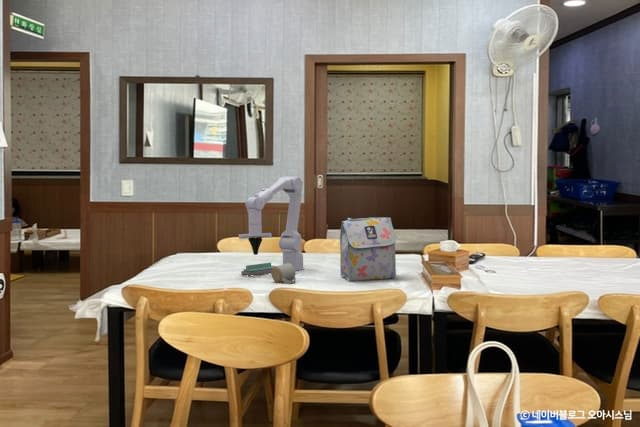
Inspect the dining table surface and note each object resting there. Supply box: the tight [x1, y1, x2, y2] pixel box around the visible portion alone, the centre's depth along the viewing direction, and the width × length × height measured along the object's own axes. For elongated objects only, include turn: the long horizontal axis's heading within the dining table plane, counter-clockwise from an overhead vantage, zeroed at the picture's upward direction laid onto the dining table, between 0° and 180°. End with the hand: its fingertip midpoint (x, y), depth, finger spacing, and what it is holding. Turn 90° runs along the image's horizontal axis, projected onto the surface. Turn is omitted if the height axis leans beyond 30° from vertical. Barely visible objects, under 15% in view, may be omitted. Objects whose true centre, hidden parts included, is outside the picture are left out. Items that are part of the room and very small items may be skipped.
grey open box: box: [240, 269, 272, 277], centre depth 323 cm, size 17×6×2 cm, turn 133°
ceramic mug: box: [270, 263, 297, 285], centre depth 300 cm, size 11×8×8 cm
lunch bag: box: [339, 217, 397, 282], centre depth 307 cm, size 22×17×26 cm
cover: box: [242, 262, 276, 272], centre depth 324 cm, size 16×5×2 cm, turn 132°
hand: (255, 254), depth 315 cm, fingers closed
